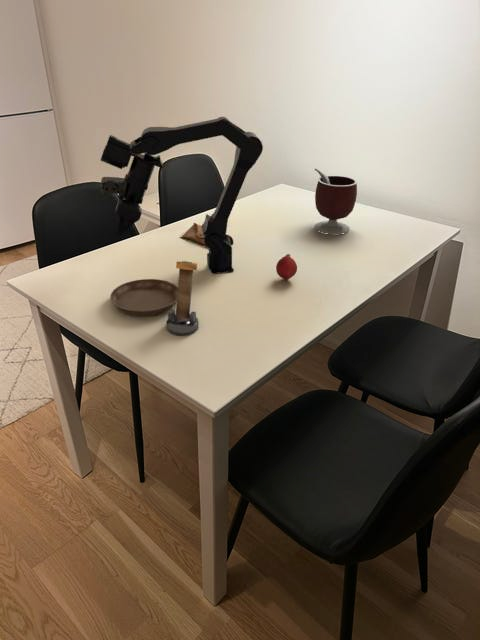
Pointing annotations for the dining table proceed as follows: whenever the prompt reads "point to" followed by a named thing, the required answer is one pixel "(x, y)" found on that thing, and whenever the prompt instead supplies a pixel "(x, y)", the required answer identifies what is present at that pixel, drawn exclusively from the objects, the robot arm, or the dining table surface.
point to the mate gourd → (334, 201)
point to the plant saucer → (145, 297)
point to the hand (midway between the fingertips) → (119, 228)
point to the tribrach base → (181, 324)
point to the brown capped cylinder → (184, 288)
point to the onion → (286, 267)
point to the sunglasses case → (198, 235)
